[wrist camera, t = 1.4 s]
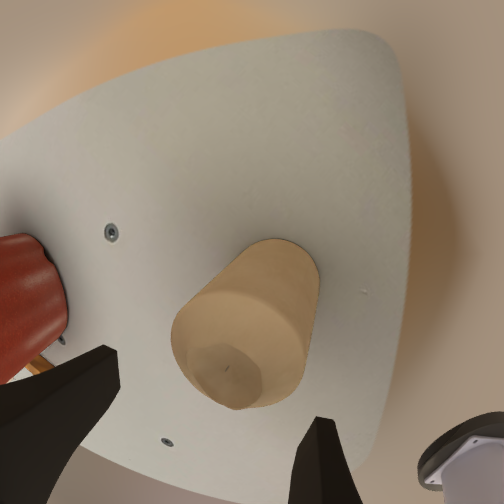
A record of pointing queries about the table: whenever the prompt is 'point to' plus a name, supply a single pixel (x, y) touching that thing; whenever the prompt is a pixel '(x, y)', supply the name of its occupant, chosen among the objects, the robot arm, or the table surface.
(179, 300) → the table surface
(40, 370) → the fry stick
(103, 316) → the table surface
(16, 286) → the flower pot
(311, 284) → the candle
